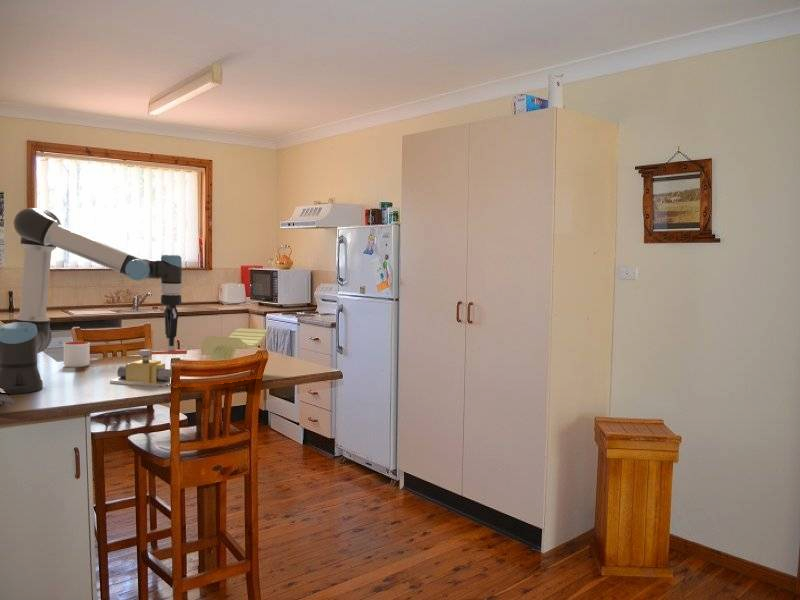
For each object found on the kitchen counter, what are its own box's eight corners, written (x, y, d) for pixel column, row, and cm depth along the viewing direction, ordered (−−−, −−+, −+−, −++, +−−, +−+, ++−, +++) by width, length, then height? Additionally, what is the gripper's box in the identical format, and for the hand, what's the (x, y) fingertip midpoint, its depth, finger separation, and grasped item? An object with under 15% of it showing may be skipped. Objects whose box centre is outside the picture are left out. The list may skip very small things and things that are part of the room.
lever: (139, 356, 238) (139, 351, 238) (139, 354, 242) (139, 349, 242) (187, 354, 246) (187, 349, 246) (185, 352, 250) (185, 348, 249)
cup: (82, 368, 266) (82, 345, 265) (58, 367, 266) (58, 344, 265) (94, 364, 276) (94, 341, 275) (71, 363, 276) (71, 341, 275)
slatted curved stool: (232, 367, 279) (233, 327, 278) (266, 369, 276) (267, 329, 275) (200, 380, 249) (201, 335, 248) (238, 382, 247) (239, 337, 246)
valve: (179, 381, 246) (180, 354, 245) (163, 387, 234) (163, 359, 233) (129, 377, 250) (129, 351, 249) (109, 383, 238) (110, 356, 237)
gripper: (185, 295, 242) (184, 355, 244) (177, 292, 252) (176, 350, 254) (165, 295, 238) (164, 357, 239) (157, 293, 248) (157, 351, 250)
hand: (170, 353), depth 247 cm, fingers closed
